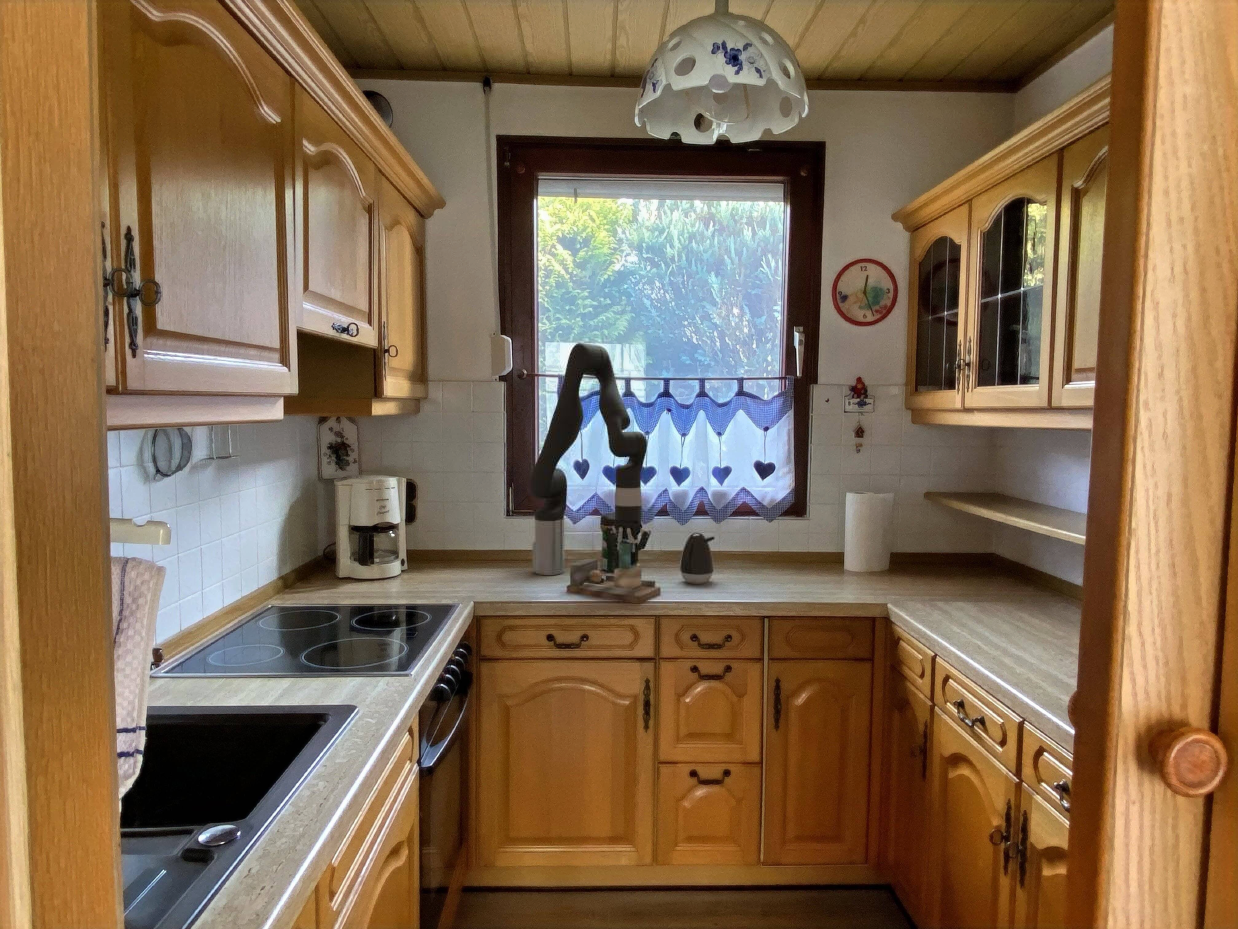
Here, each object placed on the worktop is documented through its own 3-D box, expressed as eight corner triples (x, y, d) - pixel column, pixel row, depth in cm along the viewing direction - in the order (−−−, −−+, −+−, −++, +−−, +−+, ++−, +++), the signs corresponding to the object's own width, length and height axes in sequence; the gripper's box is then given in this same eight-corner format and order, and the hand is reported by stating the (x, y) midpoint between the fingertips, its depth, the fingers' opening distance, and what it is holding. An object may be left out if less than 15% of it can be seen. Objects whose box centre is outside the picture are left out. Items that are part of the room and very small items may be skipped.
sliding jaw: (614, 591, 214) (614, 544, 213) (632, 583, 223) (632, 539, 222) (623, 592, 213) (623, 545, 212) (641, 584, 221) (641, 540, 220)
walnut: (585, 584, 223) (585, 570, 222) (593, 581, 226) (593, 568, 226) (597, 586, 221) (597, 572, 220) (604, 583, 224) (604, 569, 224)
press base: (565, 592, 221) (565, 565, 220) (590, 583, 232) (590, 557, 232) (638, 604, 209) (638, 575, 208) (661, 593, 220) (661, 566, 219)
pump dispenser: (710, 587, 227) (710, 536, 226) (676, 584, 230) (676, 534, 229) (717, 579, 237) (717, 530, 235) (684, 577, 240) (684, 528, 239)
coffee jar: (624, 566, 256) (624, 510, 254) (633, 571, 249) (634, 513, 247) (597, 568, 252) (596, 512, 251) (606, 573, 245) (605, 515, 243)
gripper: (599, 503, 216) (599, 563, 218) (643, 506, 209) (643, 569, 210) (613, 499, 223) (613, 558, 224) (656, 503, 215) (656, 564, 217)
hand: (628, 563), depth 217 cm, fingers closed on sliding jaw, 3 cm apart
